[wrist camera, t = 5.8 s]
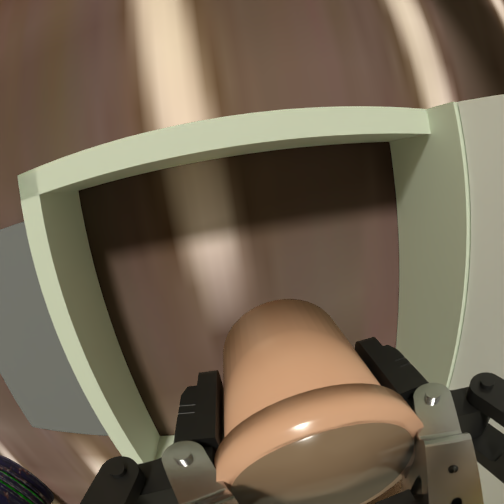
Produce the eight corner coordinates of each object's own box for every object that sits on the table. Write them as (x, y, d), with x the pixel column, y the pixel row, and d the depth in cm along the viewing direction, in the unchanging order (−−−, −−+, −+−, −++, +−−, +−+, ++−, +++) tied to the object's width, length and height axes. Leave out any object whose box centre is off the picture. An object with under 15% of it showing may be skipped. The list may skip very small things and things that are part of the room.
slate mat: (51, 213, 14) (43, 215, 13) (129, 429, 18) (127, 436, 17) (-38, 244, 14) (-45, 247, 13) (36, 421, 17) (32, 426, 17)
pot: (342, 279, 12) (447, 376, 5) (345, 385, 13) (404, 492, 7) (202, 306, 12) (182, 443, 5) (230, 409, 13) (238, 535, 6)
